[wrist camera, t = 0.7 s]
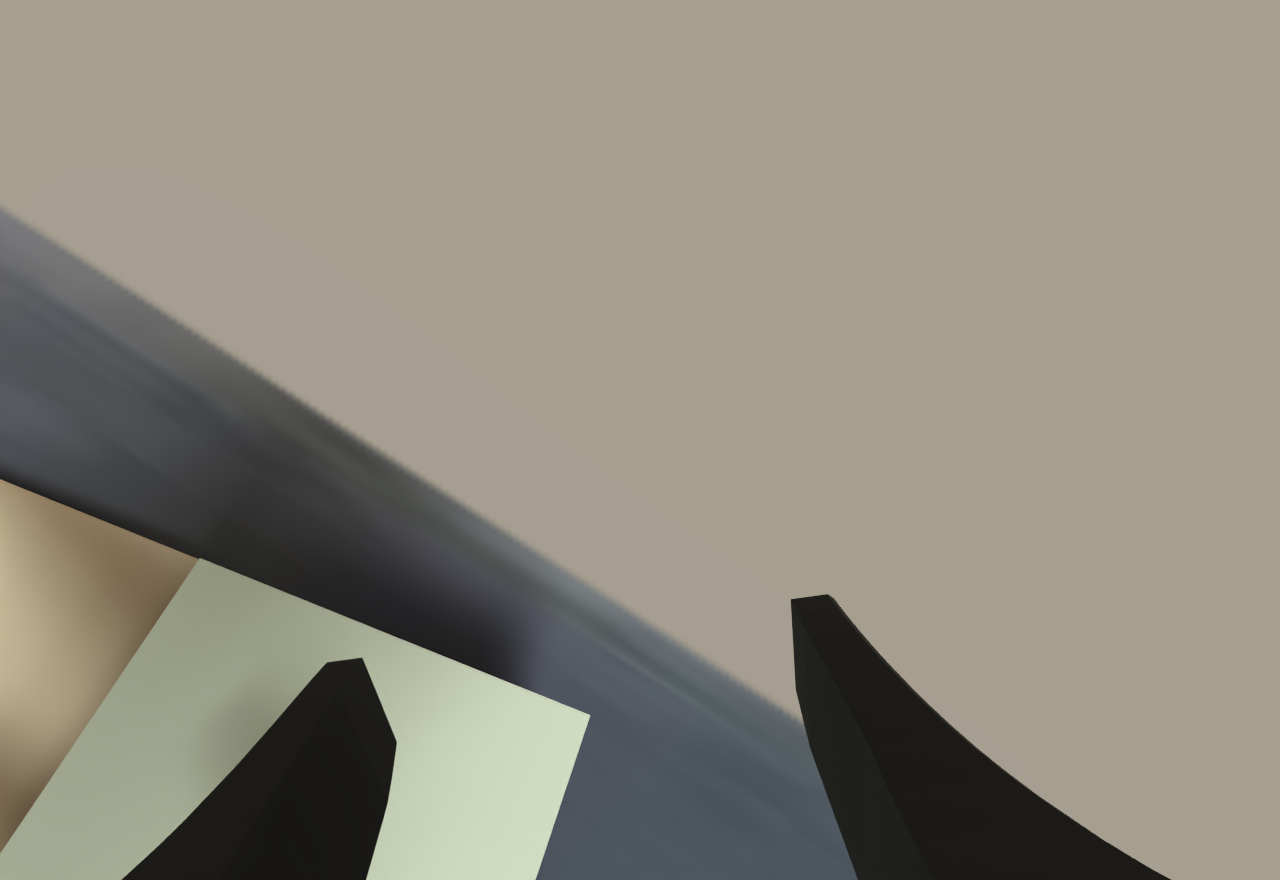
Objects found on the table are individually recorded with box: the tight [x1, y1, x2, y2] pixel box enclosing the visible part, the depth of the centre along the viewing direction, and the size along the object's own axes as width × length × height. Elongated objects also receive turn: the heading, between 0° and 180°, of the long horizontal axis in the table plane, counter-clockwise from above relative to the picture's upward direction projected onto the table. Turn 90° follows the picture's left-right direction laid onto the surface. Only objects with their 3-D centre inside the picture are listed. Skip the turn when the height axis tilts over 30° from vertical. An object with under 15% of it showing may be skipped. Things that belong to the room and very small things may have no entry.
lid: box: [0, 558, 590, 880], centre depth 19 cm, size 12×12×5 cm
